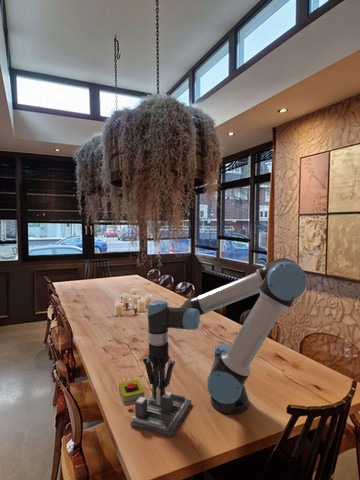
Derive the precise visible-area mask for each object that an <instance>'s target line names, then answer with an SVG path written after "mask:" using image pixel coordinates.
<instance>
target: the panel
mask: <svg viewBox="0 0 360 480" xmlns="http://www.w3.org/2000/svg"><path fill="white" fill-rule="evenodd" d="M171 393H172V394H173V410H172V412H171V413H170V412H166V411H162V403H161V405H157V399H156V398H155V397H152V396H150V397H149V398H147V410H148V415H147V416H146V418H145V419H143V418H139V417H136V416H135V415H133V416H132V420H131V421H130V426H131V427H133V428H137V429H140V430H144V431H148V432H151V433H154V434H158V435H160V436H164V437H168V438H172V437H173V436H174V434H175V432H176V430H177V428H178V427H179V426H180V424H181V422H182V420H183V419H184V417H185V416H186V414H187V413H188V411H189V410H190V407H191V405H192V402H193V401H192V399H187V398H186V395H181V394H177V393H173V392H171Z"/></svg>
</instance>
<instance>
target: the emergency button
mask: <svg viewBox="0 0 360 480" xmlns="http://www.w3.org/2000/svg"><path fill="white" fill-rule="evenodd" d="M117 390H118V392H119V396H120V399H121V401H122V405H124V406H127V405H133V404H135V403H136V401H137V400H138V399H139V398H140V397H144V398H146V397H145V391H144V389H143V387H142V384H141V382H140V380H139V379H133V380H128V381H123V382H120V383H119V384H118V386H117Z"/></svg>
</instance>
